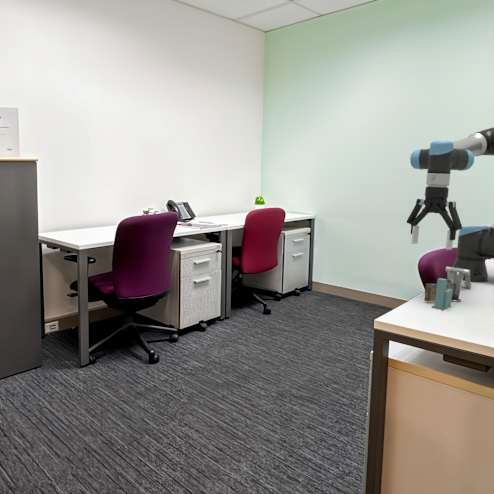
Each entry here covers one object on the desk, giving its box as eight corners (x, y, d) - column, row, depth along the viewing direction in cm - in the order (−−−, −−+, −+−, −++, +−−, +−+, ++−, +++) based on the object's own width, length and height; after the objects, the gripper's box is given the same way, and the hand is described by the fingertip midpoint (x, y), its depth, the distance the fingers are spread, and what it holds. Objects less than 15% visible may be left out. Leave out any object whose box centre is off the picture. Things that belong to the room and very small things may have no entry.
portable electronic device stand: (471, 288, 190) (473, 267, 188) (465, 291, 184) (467, 270, 182) (449, 284, 195) (451, 264, 194) (442, 287, 189) (444, 267, 188)
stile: (439, 304, 164) (442, 275, 162) (450, 306, 161) (453, 278, 160) (431, 307, 159) (434, 278, 158) (443, 310, 157) (446, 280, 155)
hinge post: (451, 298, 172) (454, 270, 171) (462, 300, 170) (465, 272, 168) (447, 300, 170) (450, 271, 168) (458, 302, 167) (461, 273, 165)
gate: (448, 298, 169) (450, 281, 168) (451, 299, 168) (453, 282, 167) (424, 300, 166) (425, 283, 165) (427, 301, 164) (429, 284, 163)
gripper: (400, 184, 172) (395, 241, 176) (465, 188, 153) (458, 252, 156) (412, 184, 177) (407, 240, 180) (477, 188, 157) (470, 251, 160)
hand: (430, 246), depth 168 cm, fingers open, 13 cm apart
